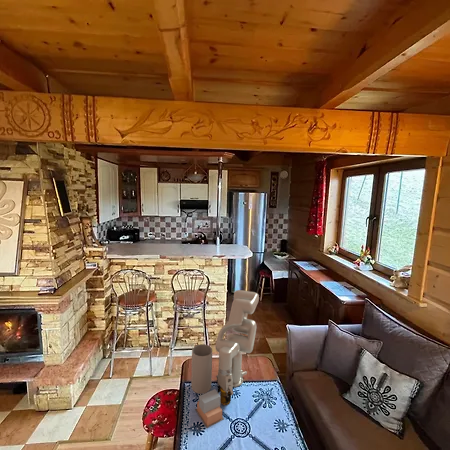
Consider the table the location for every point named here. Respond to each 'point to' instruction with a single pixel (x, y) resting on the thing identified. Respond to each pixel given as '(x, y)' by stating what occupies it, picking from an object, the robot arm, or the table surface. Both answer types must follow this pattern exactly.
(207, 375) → the cylinder vase
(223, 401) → the condiment
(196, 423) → the table surface
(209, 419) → the brick
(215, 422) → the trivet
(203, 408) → the brick
